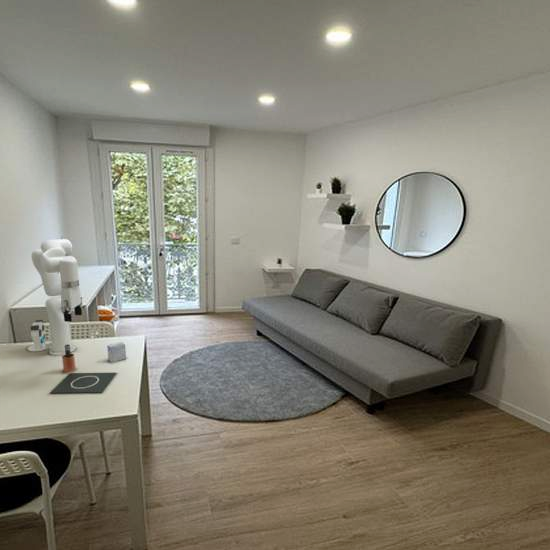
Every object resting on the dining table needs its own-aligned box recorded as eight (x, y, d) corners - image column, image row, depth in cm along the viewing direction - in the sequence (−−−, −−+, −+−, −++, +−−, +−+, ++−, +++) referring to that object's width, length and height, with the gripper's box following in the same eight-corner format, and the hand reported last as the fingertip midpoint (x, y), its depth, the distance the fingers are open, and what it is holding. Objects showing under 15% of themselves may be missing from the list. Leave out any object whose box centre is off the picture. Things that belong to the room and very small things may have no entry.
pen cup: (61, 373, 174) (60, 358, 172) (66, 368, 179) (65, 353, 178) (72, 372, 175) (71, 357, 173) (77, 368, 180) (76, 353, 178)
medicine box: (123, 356, 194) (122, 341, 193) (126, 358, 191) (125, 343, 190) (108, 360, 189) (107, 345, 187) (111, 363, 186) (110, 347, 184)
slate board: (50, 393, 156) (50, 392, 155) (69, 374, 173) (69, 373, 173) (101, 392, 158) (101, 391, 157) (116, 373, 175) (116, 372, 175)
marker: (66, 370, 176) (63, 346, 173) (68, 368, 178) (65, 344, 175) (70, 370, 176) (68, 346, 173) (73, 368, 178) (70, 344, 175)
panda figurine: (48, 350, 199) (45, 325, 196) (24, 352, 195) (21, 327, 192) (53, 342, 210) (50, 318, 207) (30, 344, 206) (27, 320, 203)
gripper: (71, 280, 178) (74, 312, 181) (51, 288, 161) (55, 324, 164) (86, 280, 178) (89, 312, 182) (68, 288, 161) (72, 324, 165)
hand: (73, 318), depth 173 cm, fingers open, 9 cm apart
